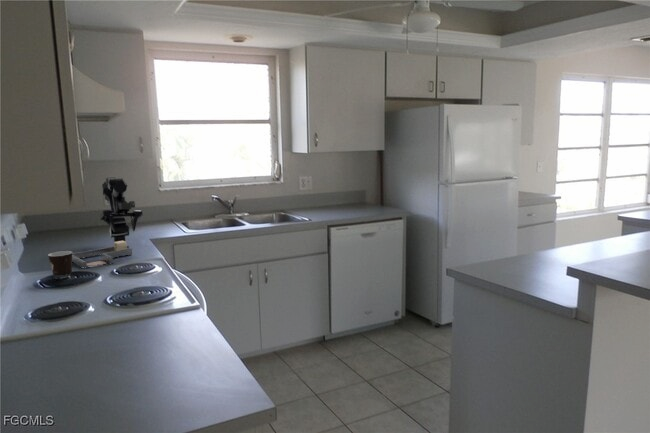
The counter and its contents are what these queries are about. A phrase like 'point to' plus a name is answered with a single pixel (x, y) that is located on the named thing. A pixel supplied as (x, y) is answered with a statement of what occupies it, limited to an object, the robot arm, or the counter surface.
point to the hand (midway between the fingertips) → (124, 231)
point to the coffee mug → (61, 262)
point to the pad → (96, 263)
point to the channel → (106, 254)
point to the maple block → (120, 245)
